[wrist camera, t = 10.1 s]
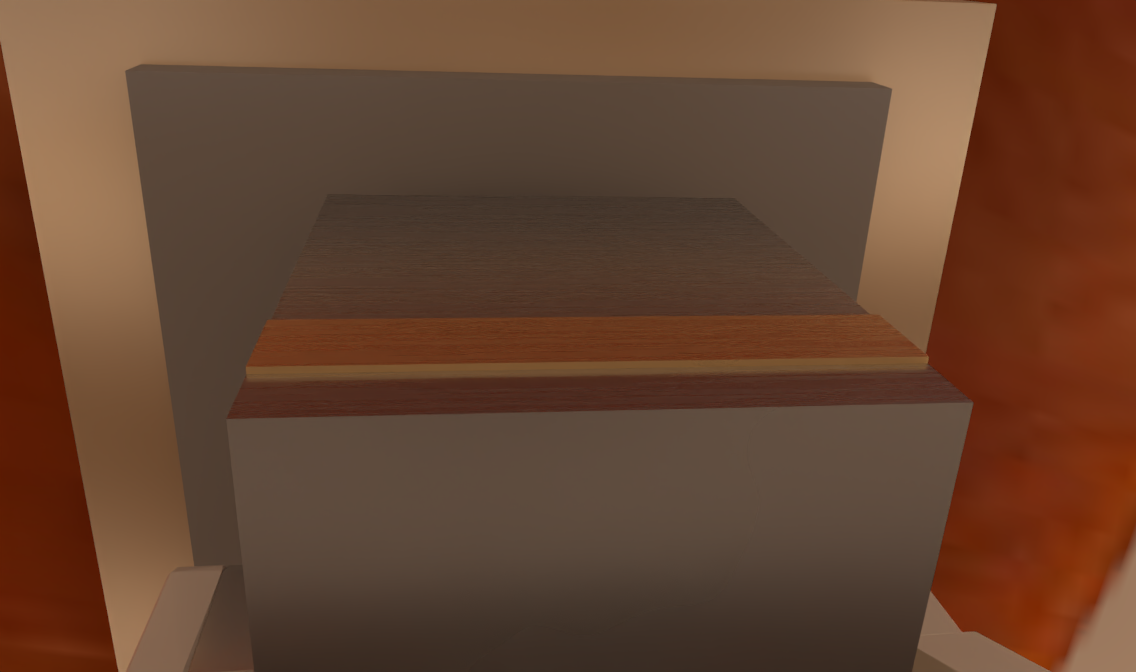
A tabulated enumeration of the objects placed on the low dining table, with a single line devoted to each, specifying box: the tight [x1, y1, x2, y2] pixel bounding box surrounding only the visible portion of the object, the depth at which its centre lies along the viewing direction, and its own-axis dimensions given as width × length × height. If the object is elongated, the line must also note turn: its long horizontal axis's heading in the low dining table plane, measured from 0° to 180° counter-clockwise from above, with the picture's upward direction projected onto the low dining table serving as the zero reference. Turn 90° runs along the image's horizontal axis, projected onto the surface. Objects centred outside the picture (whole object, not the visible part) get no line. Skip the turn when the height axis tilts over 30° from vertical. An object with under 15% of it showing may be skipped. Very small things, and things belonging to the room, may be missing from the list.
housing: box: [226, 194, 973, 672], centre depth 9 cm, size 4×8×5 cm, turn 178°
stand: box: [0, 0, 997, 672], centre depth 15 cm, size 12×12×5 cm
